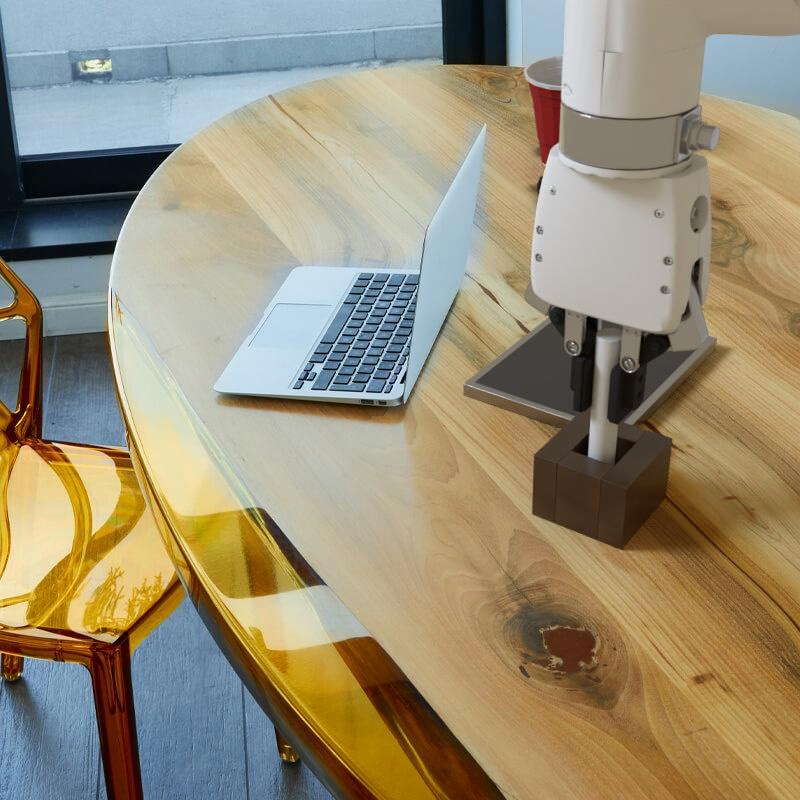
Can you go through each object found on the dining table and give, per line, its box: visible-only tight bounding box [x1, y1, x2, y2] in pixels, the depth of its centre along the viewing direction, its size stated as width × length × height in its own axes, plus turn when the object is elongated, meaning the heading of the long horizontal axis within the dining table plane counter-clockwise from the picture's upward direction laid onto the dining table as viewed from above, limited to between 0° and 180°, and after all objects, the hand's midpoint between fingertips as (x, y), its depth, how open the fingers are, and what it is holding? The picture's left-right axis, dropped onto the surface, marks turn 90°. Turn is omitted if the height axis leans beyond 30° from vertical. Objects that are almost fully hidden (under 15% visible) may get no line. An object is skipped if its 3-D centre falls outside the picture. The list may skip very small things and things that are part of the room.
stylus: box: [588, 328, 622, 466], centre depth 71 cm, size 2×2×12 cm
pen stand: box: [531, 410, 674, 550], centre depth 73 cm, size 7×7×5 cm
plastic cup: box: [523, 55, 563, 164], centre depth 129 cm, size 11×11×12 cm
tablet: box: [462, 316, 718, 430], centre depth 90 cm, size 14×18×1 cm
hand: (605, 406), depth 70 cm, fingers closed on stylus, 1 cm apart
